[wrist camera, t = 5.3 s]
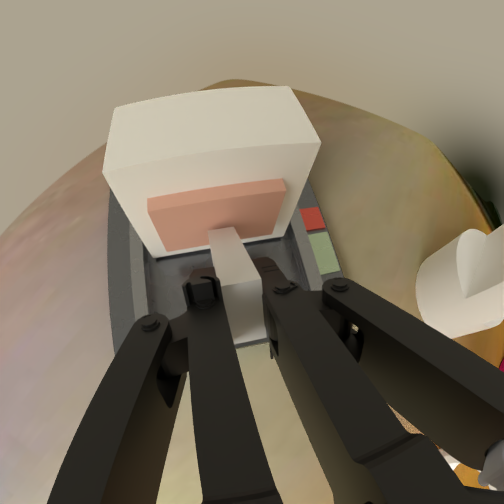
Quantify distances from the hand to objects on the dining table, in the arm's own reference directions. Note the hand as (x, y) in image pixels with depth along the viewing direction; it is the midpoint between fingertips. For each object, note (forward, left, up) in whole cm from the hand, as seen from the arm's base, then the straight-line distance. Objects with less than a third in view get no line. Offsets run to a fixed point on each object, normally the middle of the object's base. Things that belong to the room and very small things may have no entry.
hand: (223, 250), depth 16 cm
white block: (0, +4, -4) cm, 6 cm away
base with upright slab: (+21, -6, -6) cm, 23 cm away
